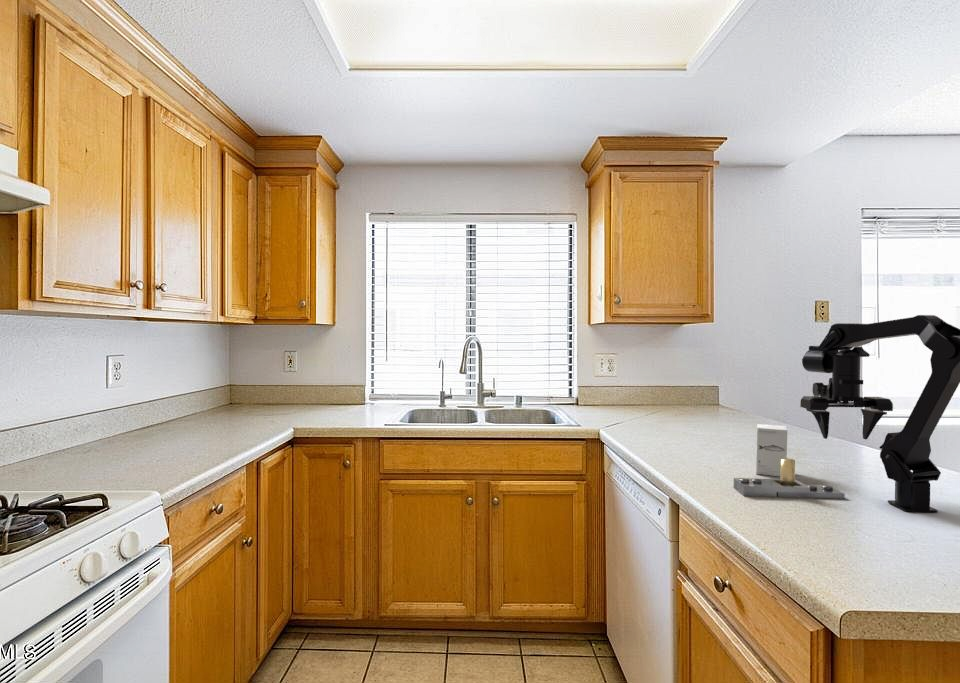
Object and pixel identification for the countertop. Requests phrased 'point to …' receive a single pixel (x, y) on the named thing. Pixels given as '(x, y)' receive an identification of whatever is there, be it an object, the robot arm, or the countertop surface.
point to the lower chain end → (815, 493)
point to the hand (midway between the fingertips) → (845, 438)
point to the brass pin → (787, 472)
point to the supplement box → (770, 448)
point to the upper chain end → (766, 487)
